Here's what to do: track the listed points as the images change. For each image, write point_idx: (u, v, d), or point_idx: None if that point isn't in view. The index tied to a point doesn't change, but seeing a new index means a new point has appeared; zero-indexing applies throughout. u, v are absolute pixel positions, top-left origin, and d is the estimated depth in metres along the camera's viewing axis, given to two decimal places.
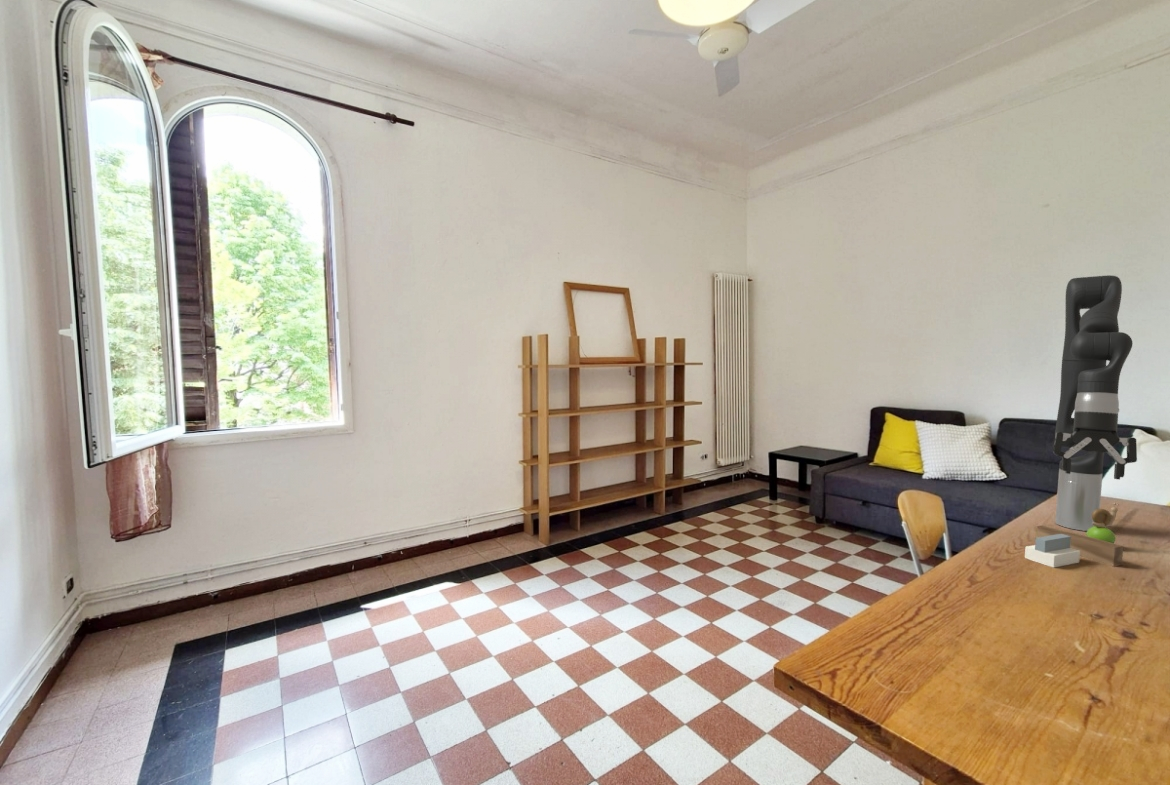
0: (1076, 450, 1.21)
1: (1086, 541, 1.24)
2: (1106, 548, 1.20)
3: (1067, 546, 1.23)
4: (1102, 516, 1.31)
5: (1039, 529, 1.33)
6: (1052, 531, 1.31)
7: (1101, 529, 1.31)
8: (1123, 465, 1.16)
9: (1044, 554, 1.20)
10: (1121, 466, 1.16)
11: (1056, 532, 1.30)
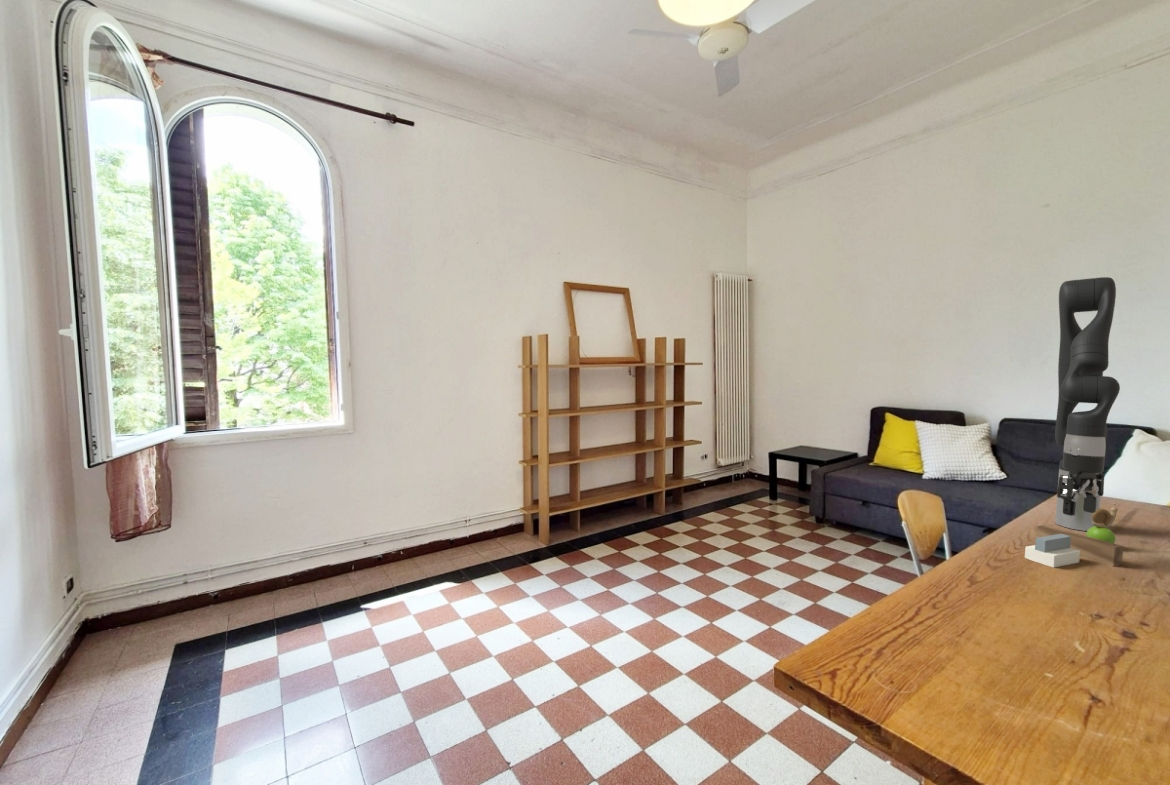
0: (1081, 493, 1.23)
1: (1086, 541, 1.24)
2: (1106, 548, 1.20)
3: (1067, 546, 1.23)
4: (1102, 516, 1.31)
5: (1039, 529, 1.33)
6: (1052, 531, 1.31)
7: (1101, 529, 1.31)
8: None
9: (1044, 554, 1.20)
10: None
11: (1056, 532, 1.30)
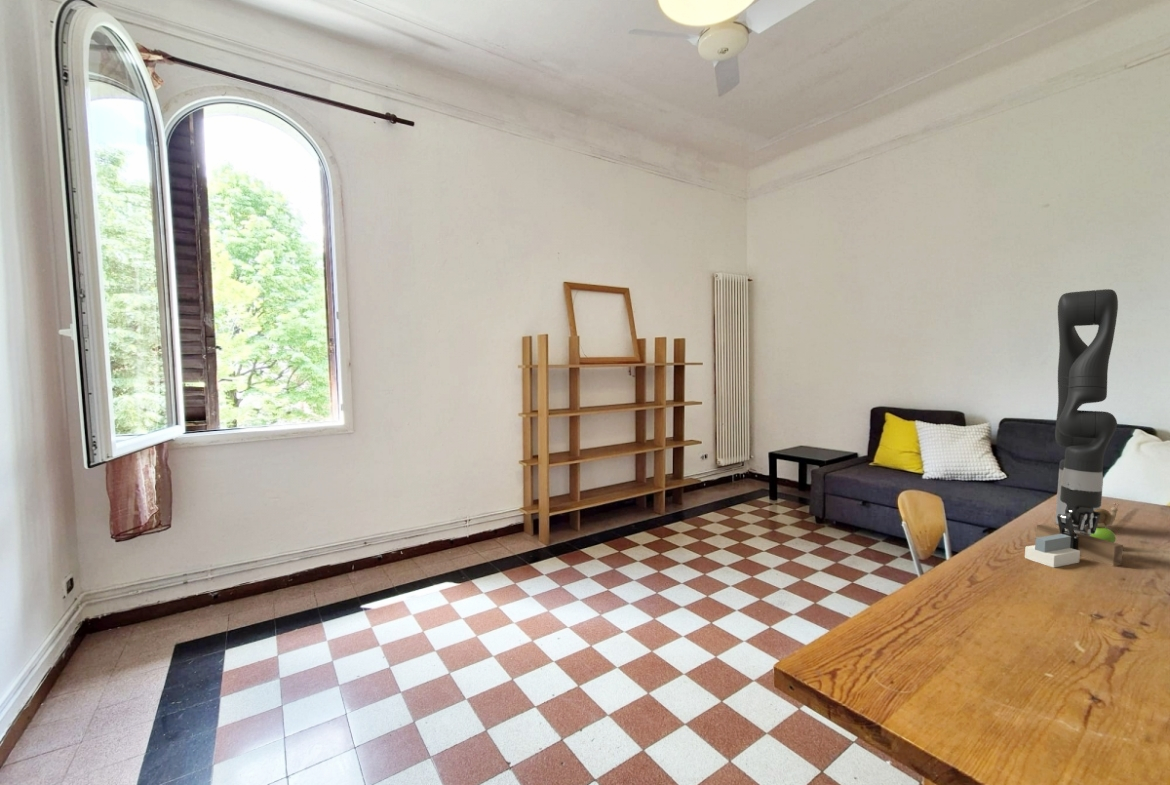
0: (1082, 529, 1.24)
1: (1086, 540, 1.24)
2: (1106, 547, 1.20)
3: (1067, 546, 1.23)
4: (1102, 516, 1.31)
5: (1039, 528, 1.33)
6: (1052, 530, 1.31)
7: (1101, 529, 1.31)
8: None
9: (1044, 554, 1.20)
10: None
11: (1056, 531, 1.30)
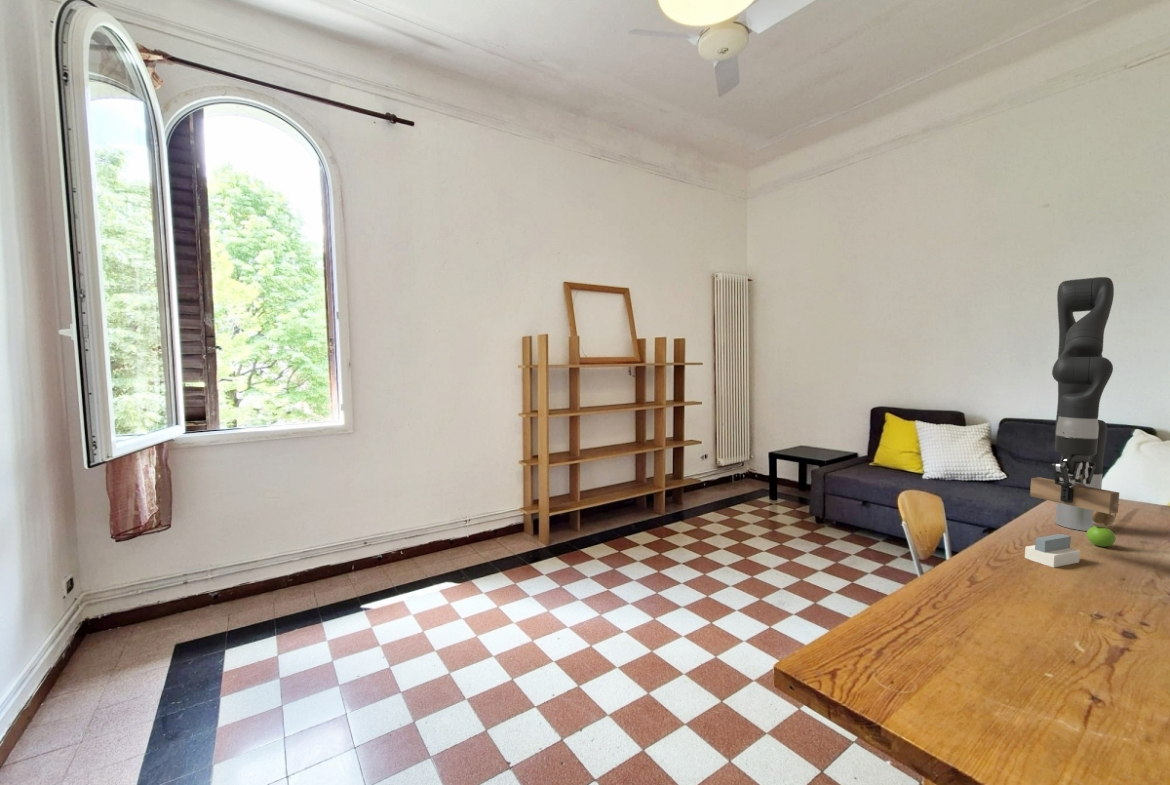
0: (1077, 478, 1.21)
1: (1081, 489, 1.21)
2: (1101, 495, 1.17)
3: (1067, 546, 1.23)
4: (1102, 516, 1.31)
5: (1033, 481, 1.30)
6: (1046, 482, 1.27)
7: (1101, 529, 1.31)
8: None
9: (1044, 554, 1.20)
10: None
11: (1051, 482, 1.27)
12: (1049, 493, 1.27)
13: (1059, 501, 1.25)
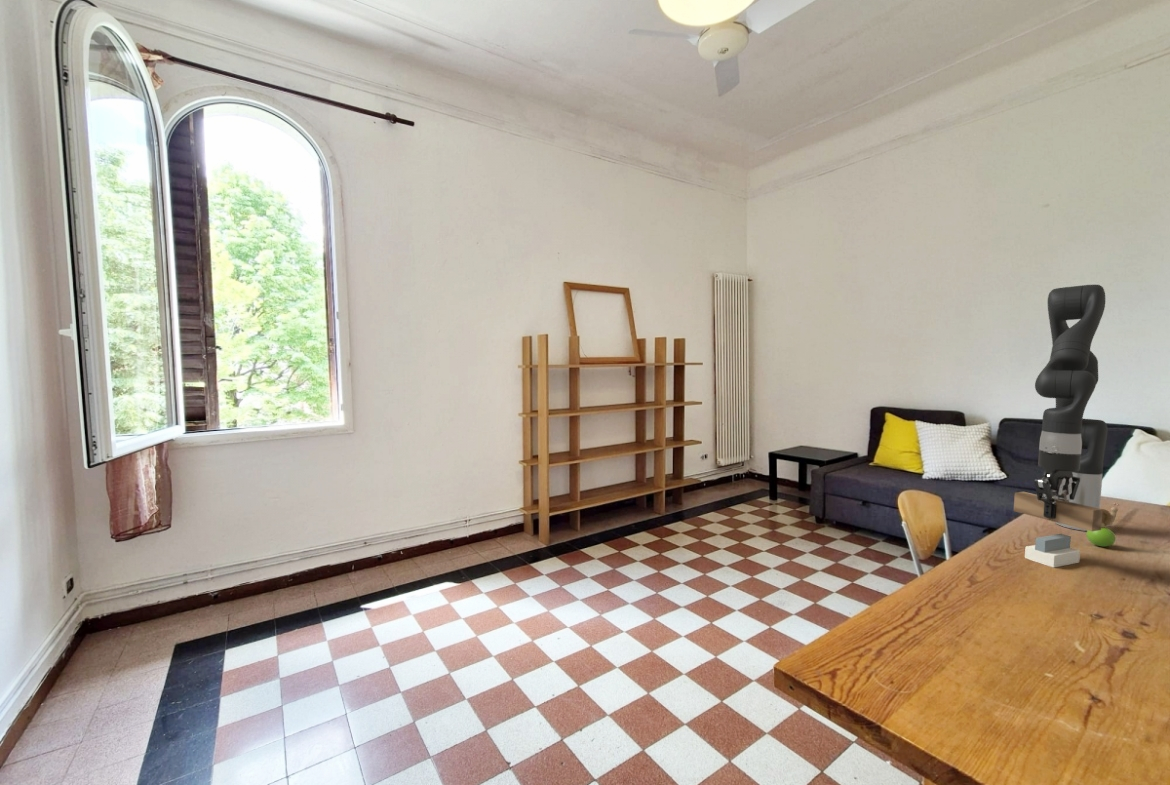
0: (1060, 494, 1.19)
1: (1064, 505, 1.18)
2: (1084, 512, 1.15)
3: (1067, 546, 1.23)
4: (1102, 516, 1.31)
5: (1017, 496, 1.28)
6: (1030, 497, 1.25)
7: (1101, 529, 1.31)
8: None
9: (1044, 554, 1.20)
10: None
11: (1034, 498, 1.24)
12: (1033, 509, 1.25)
13: (1042, 517, 1.23)
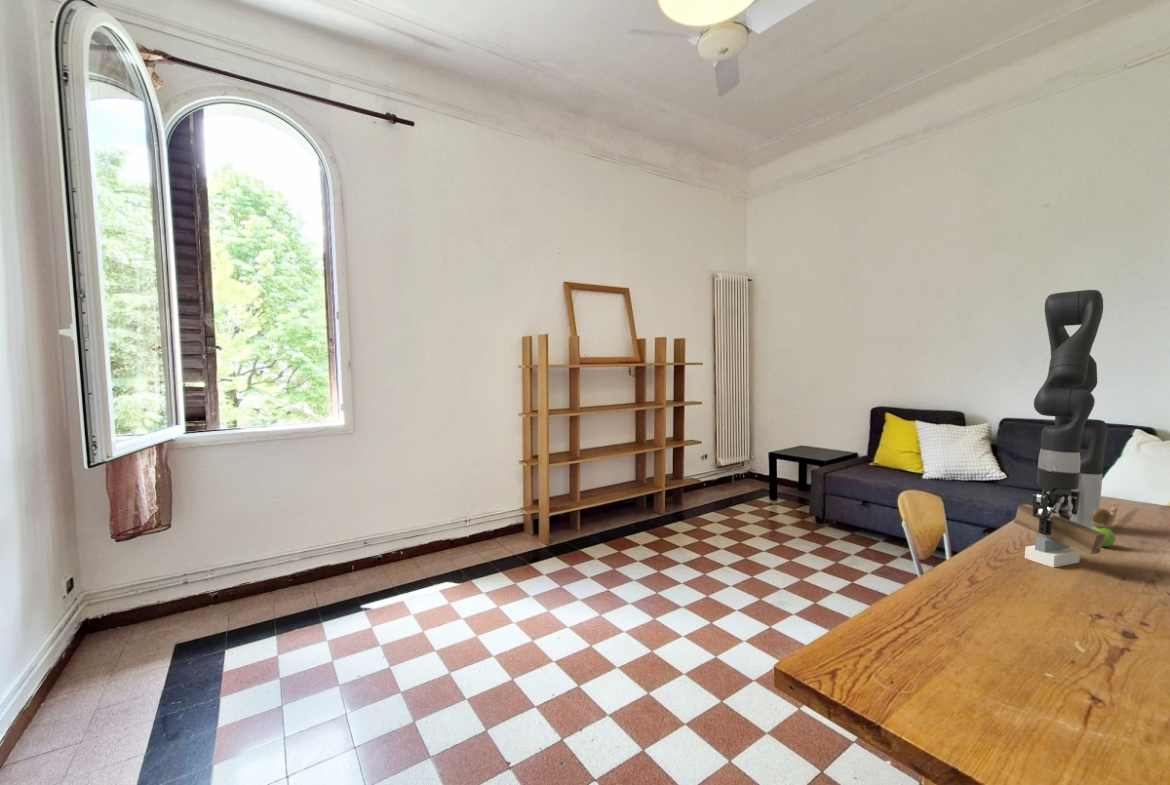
0: (1056, 511, 1.19)
1: (1067, 526, 1.18)
2: (1087, 535, 1.14)
3: (1067, 546, 1.23)
4: (1102, 516, 1.31)
5: (1020, 508, 1.27)
6: None
7: (1101, 529, 1.31)
8: None
9: (1044, 554, 1.20)
10: None
11: None
12: (1034, 524, 1.24)
13: None
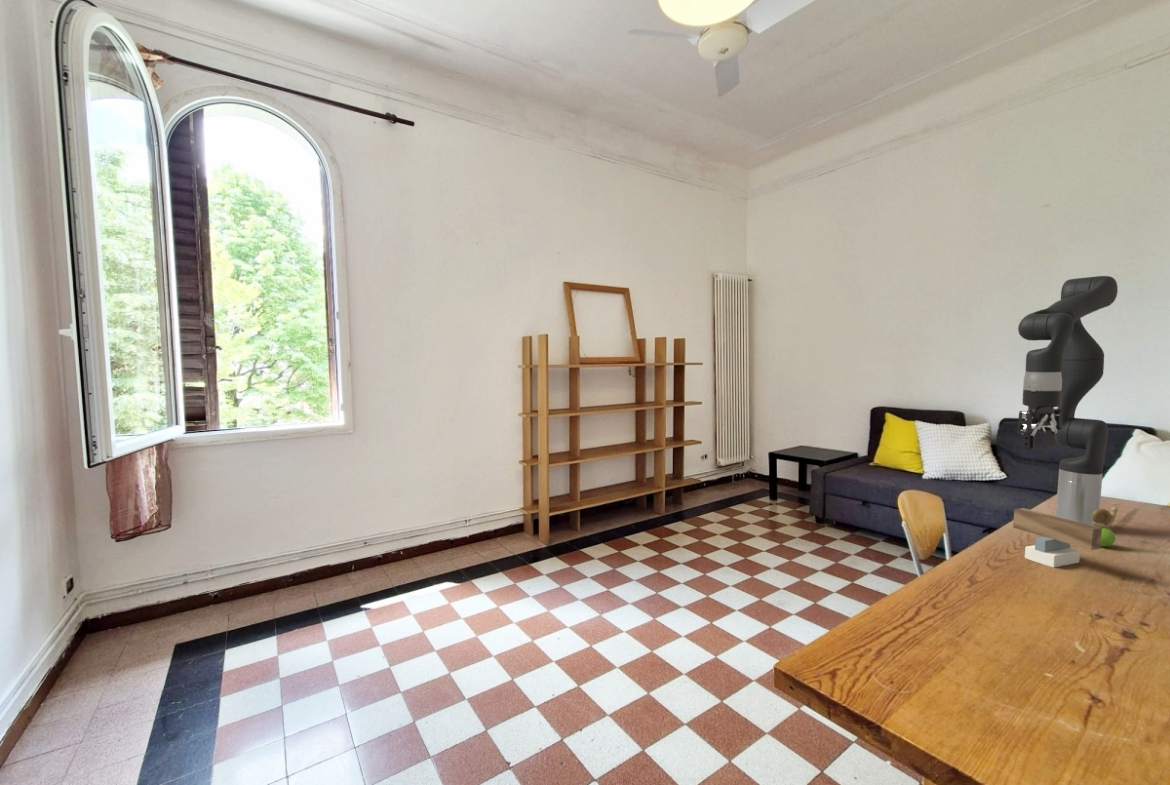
0: (1040, 427, 1.28)
1: (1064, 523, 1.18)
2: (1084, 531, 1.15)
3: (1067, 546, 1.23)
4: (1102, 516, 1.31)
5: (1016, 512, 1.28)
6: (1029, 514, 1.25)
7: None
8: (1054, 434, 1.32)
9: (1044, 554, 1.20)
10: None
11: (1033, 515, 1.24)
12: (1032, 526, 1.25)
13: (1042, 534, 1.23)
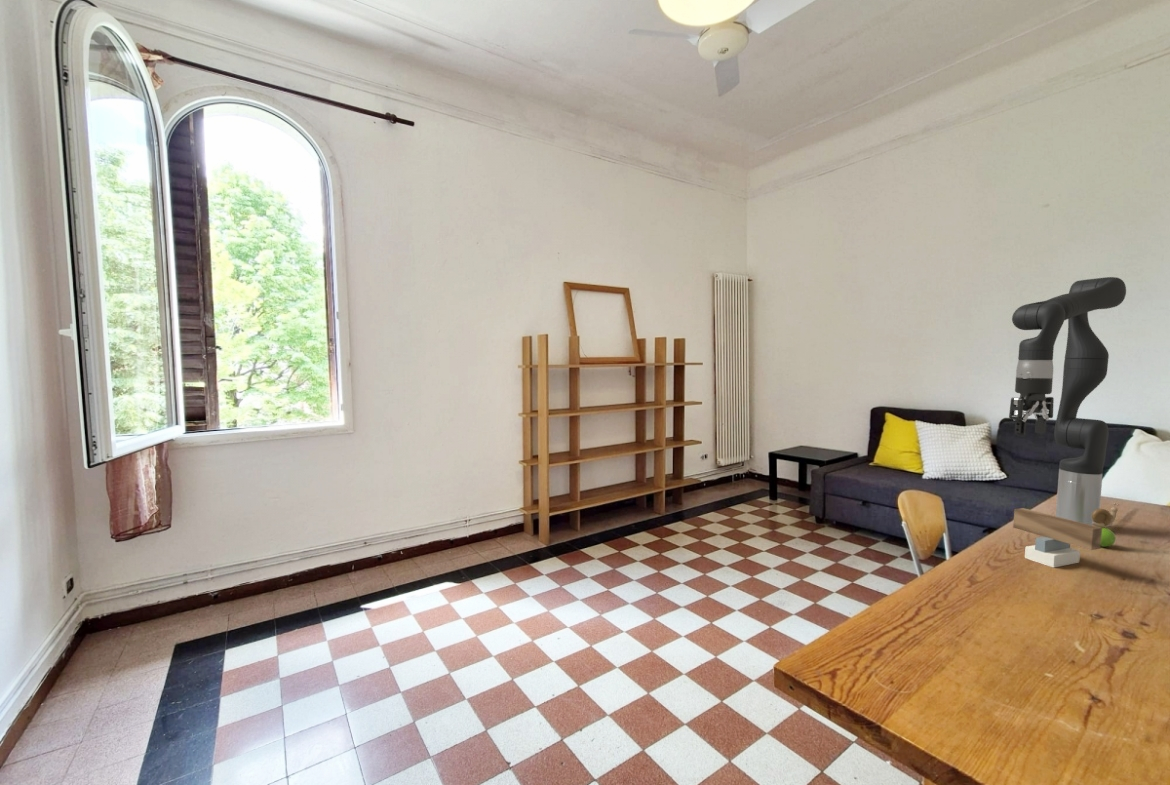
0: (1031, 413, 1.32)
1: (1064, 523, 1.18)
2: (1084, 531, 1.15)
3: (1067, 546, 1.23)
4: (1102, 516, 1.31)
5: (1016, 512, 1.28)
6: (1029, 514, 1.25)
7: None
8: None
9: (1044, 554, 1.20)
10: None
11: (1033, 515, 1.24)
12: (1032, 526, 1.25)
13: (1042, 534, 1.23)
